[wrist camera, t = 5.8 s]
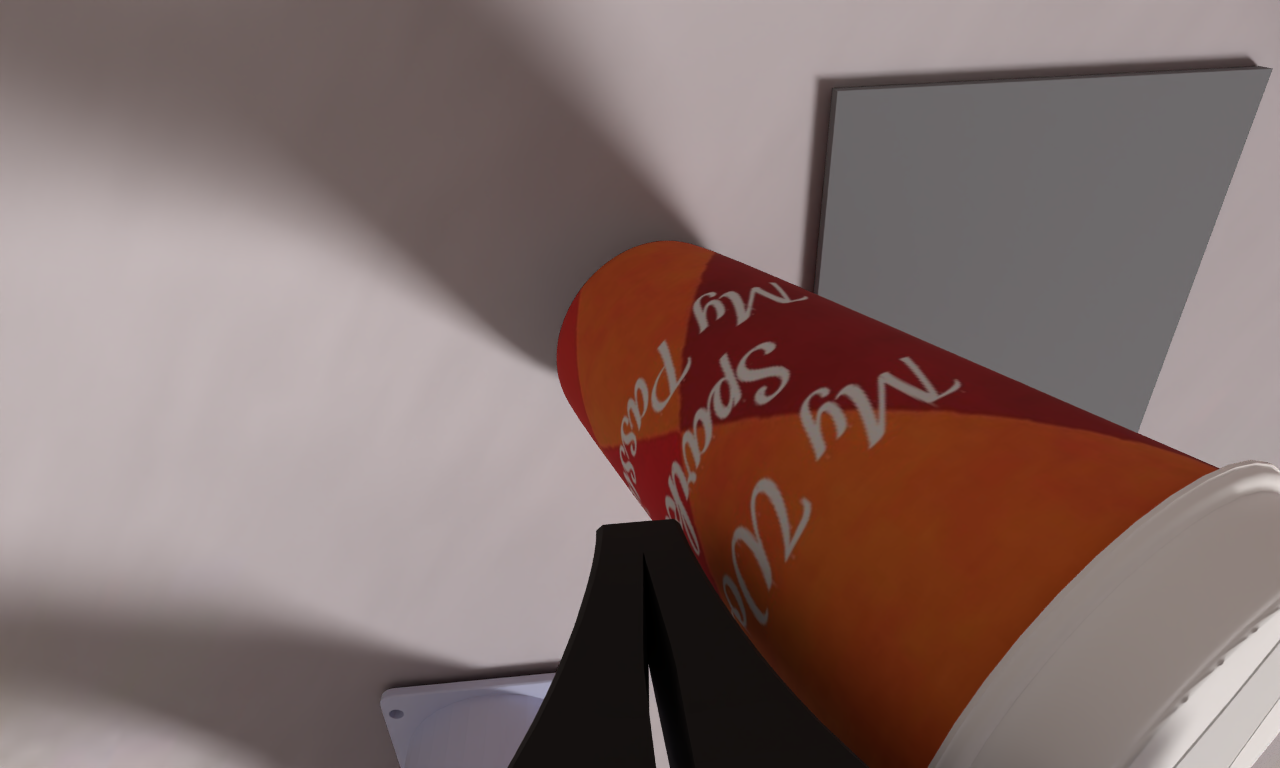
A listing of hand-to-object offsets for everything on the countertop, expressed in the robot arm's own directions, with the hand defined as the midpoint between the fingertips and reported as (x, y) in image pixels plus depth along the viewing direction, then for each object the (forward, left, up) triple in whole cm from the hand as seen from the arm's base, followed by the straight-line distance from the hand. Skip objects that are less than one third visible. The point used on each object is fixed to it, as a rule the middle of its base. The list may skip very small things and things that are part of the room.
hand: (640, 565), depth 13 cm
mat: (-2, -11, -9) cm, 15 cm away
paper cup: (0, -1, -8) cm, 8 cm away
